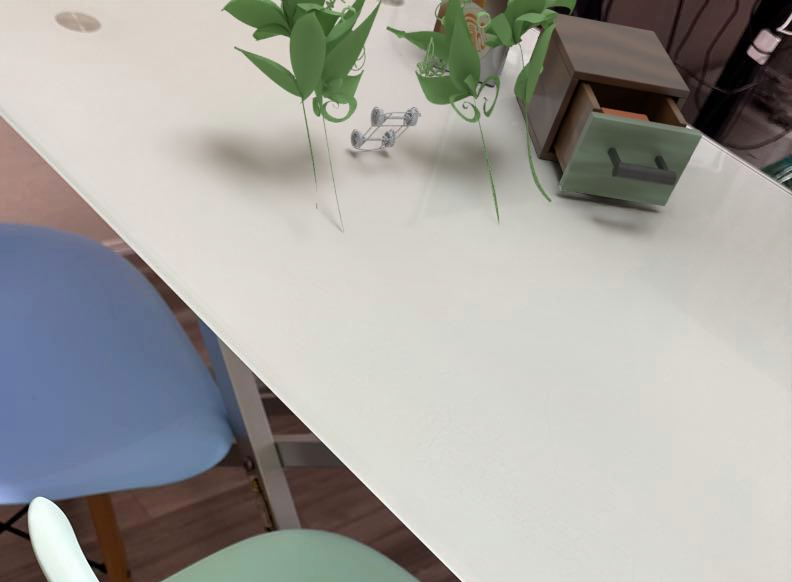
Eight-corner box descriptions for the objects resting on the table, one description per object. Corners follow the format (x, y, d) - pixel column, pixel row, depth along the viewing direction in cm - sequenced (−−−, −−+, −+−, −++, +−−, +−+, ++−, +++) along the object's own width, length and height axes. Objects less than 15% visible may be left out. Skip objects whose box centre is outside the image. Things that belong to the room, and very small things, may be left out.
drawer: (676, 230, 99) (716, 159, 94) (570, 213, 98) (604, 139, 92) (632, 142, 111) (666, 73, 105) (537, 125, 110) (565, 55, 104)
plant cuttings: (526, 251, 107) (496, 49, 107) (634, 189, 91) (598, -48, 91) (223, 266, 96) (190, 41, 96) (284, 199, 79) (244, -72, 80)
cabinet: (646, 176, 108) (690, 91, 101) (538, 158, 107) (574, 70, 99) (616, 113, 118) (653, 31, 110) (515, 95, 116) (547, 11, 109)
